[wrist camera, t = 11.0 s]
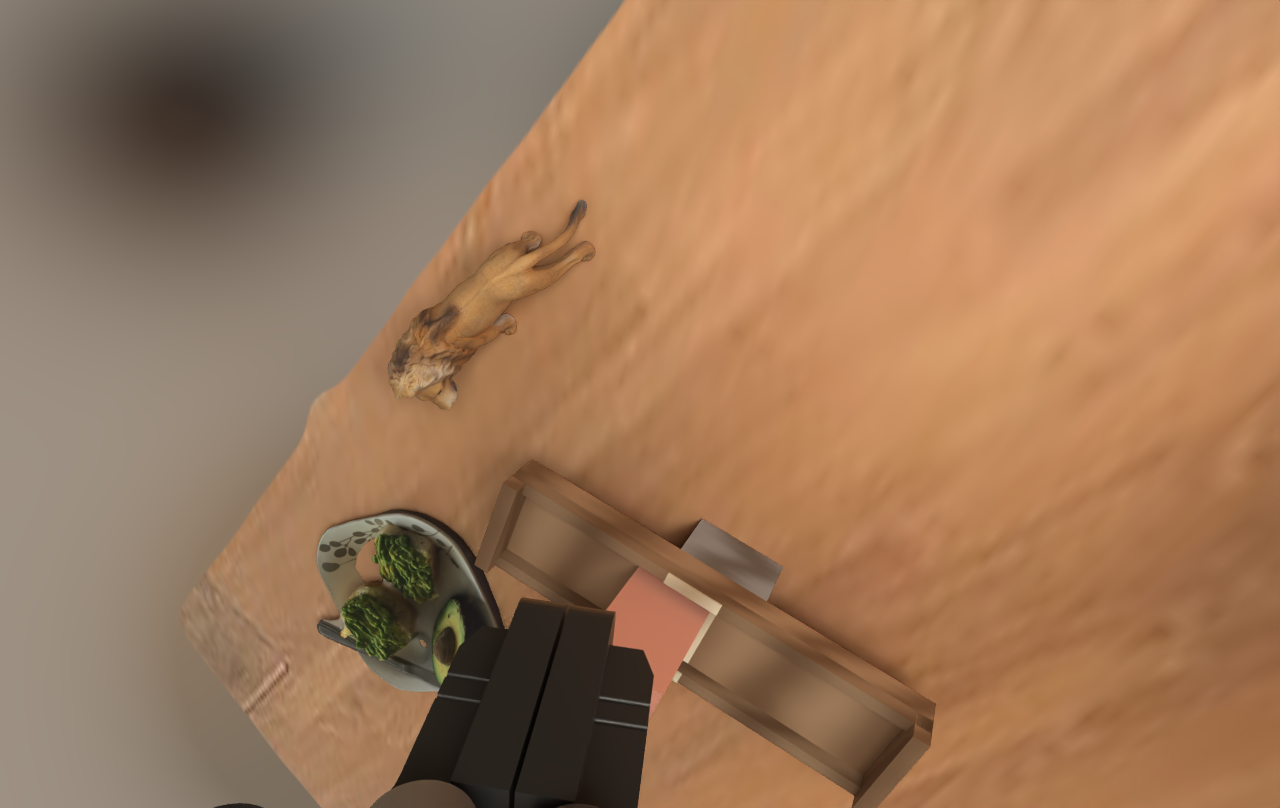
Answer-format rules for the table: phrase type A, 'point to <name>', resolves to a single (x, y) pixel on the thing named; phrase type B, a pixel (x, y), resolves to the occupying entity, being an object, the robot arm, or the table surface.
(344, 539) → the salad plate
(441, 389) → the lion figurine
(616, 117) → the table surface
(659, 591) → the rider
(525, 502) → the beam
